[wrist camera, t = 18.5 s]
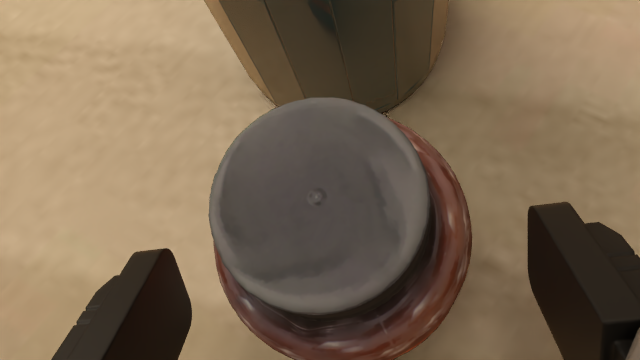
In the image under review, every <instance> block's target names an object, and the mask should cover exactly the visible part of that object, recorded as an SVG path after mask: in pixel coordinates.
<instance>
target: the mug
mask: <svg viewBox="0 0 640 360" xmlns="http://www.w3.org/2000/svg"><path fill="white" fill-rule="evenodd" d="M204 2H205V3H206V5H207V7H208V8H209V10H210V12H211V13H212V15H213V17H214V18H215V20H216V22H217V23H218V25H219V27H220V28H221V30H222V32H223V33H224V35H225V37H226V38H227V40H228V42H229V43H230V45H231V47H232V48H233V50H234V52H235V53H236V55H237V57H238V58H239V60H240V62H241V63H242V65H243V67H244V68H245V70H246V72H247V73H248V75H249V77H250V78H251V79H252V80H253V81H254V82H255V83H256V85H257V86H258V88H259V89H260V90H261V91H262V92H263V93H264V95H265V96H266V97H267V98H268V99H270V100H271V101H272V102H273V103H274V104H275V105H277V106H279V107H280V106H282V105H284V104H287V103H290V102H294V101H298V100H304V99H308V98H341V99H347V100H350V101H354V102H357V103H359V104H362V105H366V106H368V107H369V108H371V109H374V110H376V111H377V112H379V113H382V112H385V111H387V110H389V109H391V108H392V107H394V106H396V105H397V104H399V103H400V102H402V101H403V100H405V99H406V98H407V97H408V96H409V95H411V94H412V93H413V92H414V91H415V90H416V89H417V88H418V87H419V86H420V85H421V84H422V83H423V81H424V80H425V79H426V77H427V76H428V75H429V73H430V72H431V70H432V68H433V66H434V64H435V62H436V61H437V58H438V55H439V53H440V50H441V46H442V41H443V39H444V37H445V32H446V23H447V14H448V5H449V0H204Z"/></svg>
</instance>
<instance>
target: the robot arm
mask: <svg viewBox="0 0 640 360" xmlns="http://www.w3.org/2000/svg"><path fill="white" fill-rule="evenodd" d="M528 274H529V280H530V285H531V288H532V291H533V294H534V296H535V299H536V301H537V303H538V305H539V307H540V309H541V312H542V314H543V316H544V318H545V320H546V322H547V324H548V327H549V329H550V331H551V333H552V335H553V337H554V340H555V342H556V344H557V346H558V348H559V350H560V352H561V355H562V357H563V359H564V360H640V258H639V257H638V255H635V253H634V250H633V249H632V248H631V247H630V245H629V244H628V243H627V242H626V241H625V239H624V238H623V237H622V236H621V235H620V234H618V233H617V232H615V231H613V230H612V229H610V228H608V227H606V226H605V225H603V224H601V223H599V222H595V223H586V224H584V222H583V221H582V219H581V218H580V217H579V215H578V214H577V213H576V211H575V210H574V208H573V207H572V206H571V204H570V203H568V202H561V203H552V204H544V205H535V206H530V207H529V210H528ZM191 320H192V308H191V302H190V299H189V296H188V293H187V290H186V288H185V285H184V282H183V279H182V277H181V274H180V271H179V268H178V266H177V263H176V260H175V257H174V255H173V253H172V252H171V250H169V249H167V248H165V249H157V250H148V251H140V252H135V253H134V254H133V255H132V256H131V258H130V259H129V261H128V263H127V264H126V266H125V267H124V269H123V270H122V272H121V274H120V275H117V276H114V277H113V278H112V279H110V280H109V281H108V282H107V283H106V284H105V285H103V286H102V287H101V288H100V289H99V290H98V291H97V292H96V293H95V295H94V296H93V298H92V299H91V301H90V302H89V304H88V305H87V307H86V311H83V313H82V314H81V316H80V317H79V319H78V320H77V325H74V326H73V328H72V329H71V331H70V332H69V334H68V335H67V337H66V338H65V340H64V341H63V343H62V344H61V346H60V347H59V349H58V350H57V352H56V353H55V355H54V356H53V358H52V359H51V360H178V357H179V355H180V352H181V350H182V347H183V344H184V342H185V339H186V337H187V334H188V332H189V329H190V326H191Z"/></svg>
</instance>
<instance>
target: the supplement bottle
mask: <svg viewBox="0 0 640 360" xmlns="http://www.w3.org/2000/svg"><path fill="white" fill-rule="evenodd" d="M209 221H210V227H211V232H212V236H213V239H214V252H215V259H216V266H217V271H218V275H219V278H220V282H221V285H222V287H223V290H224V292H225V294H226V296H227V298H228V300H229V302H230V304H231V306H232V307H233V309H234V310H235V311H236V313H237V315H238V317H239V318H240V319H241V321H242V322H243V323H244V324H245V325H246V326H247V327H248V328H249V330H250V331H252V332H253V333H254V334H255V335H256V336H257V337H258V338H260V339H261V340H262V341H263V342H265V343H266V344H267V345H269V346H270V347H271V348H273V349H274V350H276V351H278V352H280V353H282V354H284V355H286V356H288V357H290V358H292V359H295V360H394V359H396V358H397V357H399V356H401V355H403V354H405V353H407V352H409V351H410V350H412V349H413V348H415V347H416V346H418V345H419V344H420V343H422V342H423V341H425V340H426V339H427V338H428V337H429V336H430V335H431V334H432V333H433V332H434V331H435V330H436V329H437V328H438V326H439V325H440V324H441V322H442V321H443V320H444V319H445V317H446V316H447V314H448V313H449V310H450V308H451V307H452V305H453V304H454V302H455V300H456V298H457V296H458V294H459V291H460V289H461V287H462V285H463V282H464V280H465V277H466V274H467V270H468V266H469V262H470V256H471V246H472V232H471V223H470V216H469V211H468V206H467V202H466V199H465V196H464V193H463V191H462V188H461V186H460V183H459V182H458V180H457V178H456V175H455V174H454V172H453V171H452V169H451V167H450V166H449V164H448V163H447V162H446V161H445V159H444V158H443V157H442V156H441V154H440V153H439V152H438V151H437V150H436V149H435V148H434V147H433V146H432V145H431V144H430V143H429V142H428V141H426V140H425V139H424V138H422V137H421V136H420V135H418V134H417V133H416V132H414V131H413V130H412V129H410V128H408V127H406V126H404V125H402V124H400V123H398V122H396V121H394V120H392V119H390V118H387V117H386V116H384V115H382V114H381V113H379V112H377V111H376V110H374V109H371V108H369V107H368V106H366V105H362V104H359V103H357V102H354V101H350V100H347V99H341V98H308V99H304V100H298V101H294V102H290V103H287V104H284V105H282V106H280V107H277V108H275V109H272V110H271V111H269V112H268V113H266V114H264V115H262V116H261V117H259V118H258V119H257V120H255V121H254V122H253V123H251V124H250V125H249V126H248V127H247V128H246V129H244V130H243V131H242V132H241V133H240V134H239V135H238V136H237V137H236V139H235V140H234V141H233V143H232V144H231V145H230V147H229V148H228V150H227V151H226V153H225V155H224V157H223V159H222V161H221V163H220V165H219V168H218V170H217V173H216V174H215V176H214V180H213V184H212V188H211V194H210V202H209Z"/></svg>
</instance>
